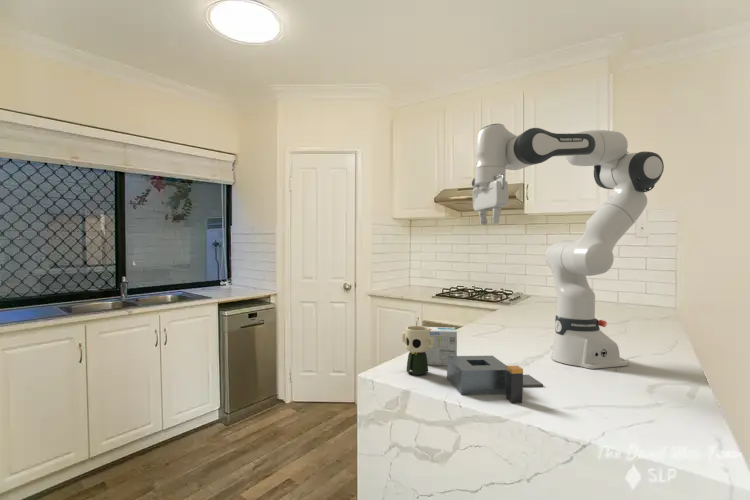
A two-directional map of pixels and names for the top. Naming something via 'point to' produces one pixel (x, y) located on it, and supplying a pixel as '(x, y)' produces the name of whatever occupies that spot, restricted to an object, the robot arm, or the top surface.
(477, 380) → the block
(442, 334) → the light bulb box
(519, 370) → the block
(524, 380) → the mat
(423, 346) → the character mug
